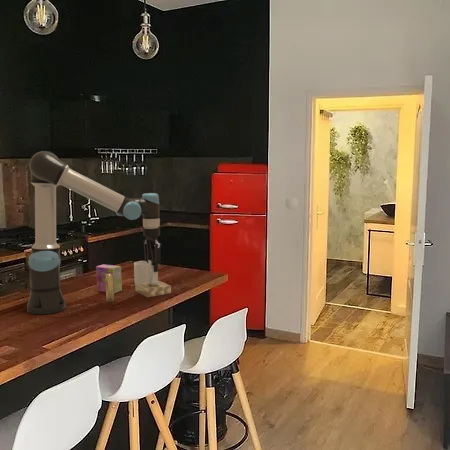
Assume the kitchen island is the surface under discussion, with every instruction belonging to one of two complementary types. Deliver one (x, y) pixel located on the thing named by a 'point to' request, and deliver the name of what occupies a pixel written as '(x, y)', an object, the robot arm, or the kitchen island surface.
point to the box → (101, 277)
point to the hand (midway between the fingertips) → (153, 277)
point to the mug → (141, 272)
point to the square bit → (151, 281)
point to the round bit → (109, 288)
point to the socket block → (153, 289)
